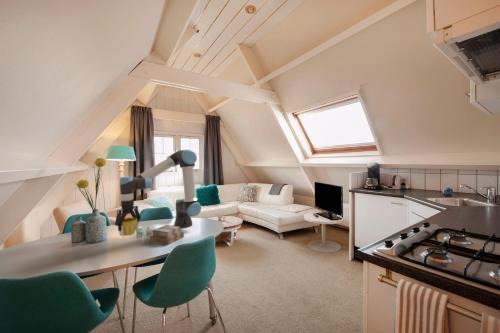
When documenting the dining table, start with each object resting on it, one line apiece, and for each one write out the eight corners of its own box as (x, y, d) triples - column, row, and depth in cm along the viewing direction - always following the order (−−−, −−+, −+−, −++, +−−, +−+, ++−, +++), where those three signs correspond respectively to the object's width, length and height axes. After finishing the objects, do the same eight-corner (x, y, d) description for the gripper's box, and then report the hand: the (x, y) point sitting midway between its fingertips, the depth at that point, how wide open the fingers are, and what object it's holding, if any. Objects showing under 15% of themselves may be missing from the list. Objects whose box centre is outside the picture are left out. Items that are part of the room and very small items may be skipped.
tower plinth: (166, 234, 168) (166, 224, 168) (183, 237, 162) (183, 226, 161) (149, 242, 153) (149, 230, 153) (167, 245, 147) (167, 233, 147)
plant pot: (136, 235, 145) (136, 220, 145) (118, 237, 142) (118, 222, 141) (138, 230, 155) (137, 216, 155) (121, 232, 151) (120, 218, 151)
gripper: (137, 196, 159) (139, 227, 160) (106, 203, 138) (108, 238, 139) (145, 197, 156) (147, 228, 157) (114, 203, 135) (116, 239, 136)
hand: (129, 232), depth 148 cm, fingers closed on plant pot, 10 cm apart
